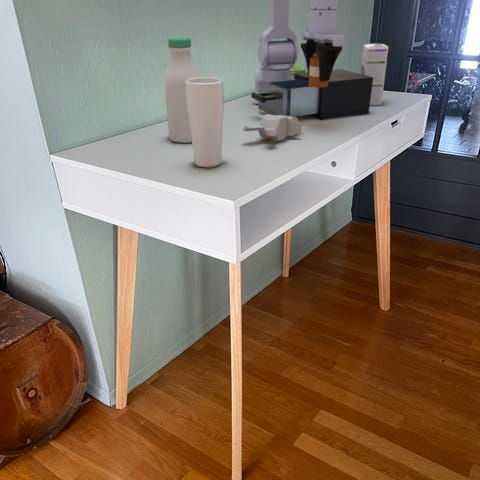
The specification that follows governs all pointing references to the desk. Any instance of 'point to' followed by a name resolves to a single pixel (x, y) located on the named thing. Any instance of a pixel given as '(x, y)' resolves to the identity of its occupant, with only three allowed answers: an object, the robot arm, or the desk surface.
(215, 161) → the drinking glass
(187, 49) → the milk bottle
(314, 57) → the bottle
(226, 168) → the desk surface
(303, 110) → the drawer
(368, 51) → the syrup box
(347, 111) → the cabinet
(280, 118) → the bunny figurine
